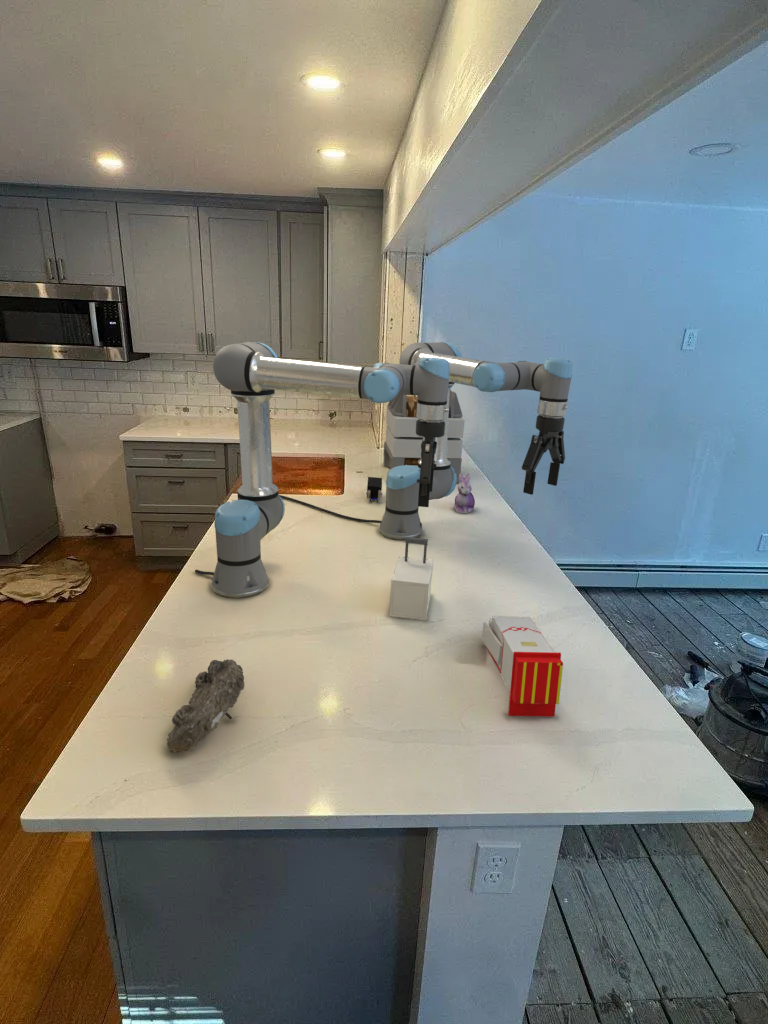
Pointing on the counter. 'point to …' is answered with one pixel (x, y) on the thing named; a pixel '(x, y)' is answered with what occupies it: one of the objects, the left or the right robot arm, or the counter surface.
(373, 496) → the figurine character
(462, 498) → the figurine
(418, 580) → the lid
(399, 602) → the white cabinet body
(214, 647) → the counter surface
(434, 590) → the counter surface
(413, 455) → the transformer
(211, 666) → the fossil
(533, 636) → the toy
